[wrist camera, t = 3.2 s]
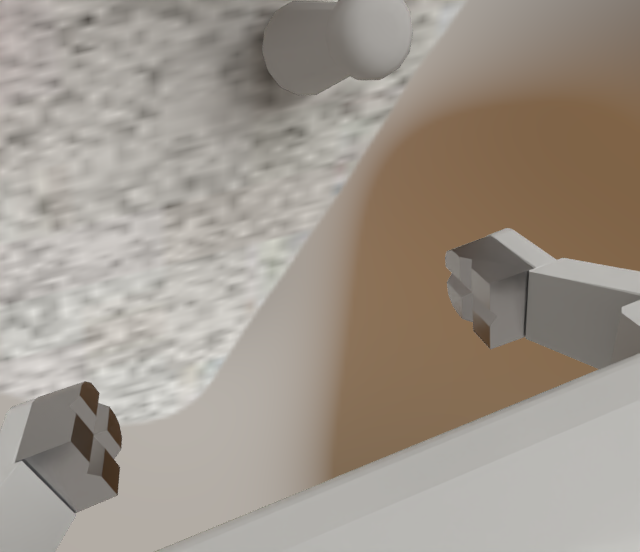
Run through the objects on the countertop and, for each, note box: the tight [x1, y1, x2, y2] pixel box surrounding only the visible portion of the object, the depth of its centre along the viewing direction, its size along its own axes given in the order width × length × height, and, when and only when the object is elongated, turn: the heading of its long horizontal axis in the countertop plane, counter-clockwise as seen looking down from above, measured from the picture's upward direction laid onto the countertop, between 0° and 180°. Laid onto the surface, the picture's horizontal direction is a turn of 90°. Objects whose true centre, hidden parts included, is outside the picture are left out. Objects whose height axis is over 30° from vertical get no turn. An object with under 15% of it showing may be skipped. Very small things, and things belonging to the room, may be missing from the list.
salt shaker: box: [262, 0, 413, 95], centre depth 28 cm, size 6×6×13 cm
